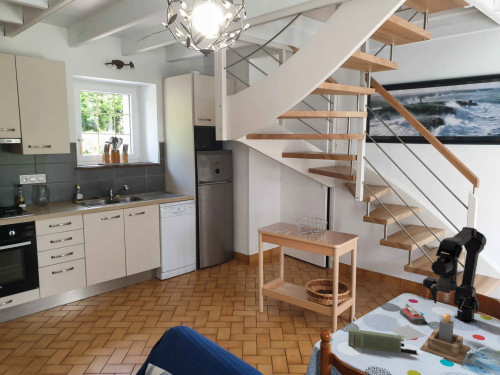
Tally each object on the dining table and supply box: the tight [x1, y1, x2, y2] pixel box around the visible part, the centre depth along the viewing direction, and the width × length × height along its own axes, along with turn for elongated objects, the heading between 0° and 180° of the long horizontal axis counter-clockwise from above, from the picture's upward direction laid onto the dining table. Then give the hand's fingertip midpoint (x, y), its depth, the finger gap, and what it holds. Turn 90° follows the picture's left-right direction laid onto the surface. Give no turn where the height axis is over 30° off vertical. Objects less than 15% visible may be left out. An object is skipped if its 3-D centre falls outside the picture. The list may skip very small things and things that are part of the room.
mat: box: [389, 324, 427, 341], centre depth 160 cm, size 10×10×1 cm
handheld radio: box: [347, 328, 418, 355], centre depth 147 cm, size 7×3×25 cm
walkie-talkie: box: [399, 303, 428, 325], centre depth 177 cm, size 9×4×20 cm
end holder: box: [419, 328, 470, 365], centre depth 147 cm, size 14×14×5 cm
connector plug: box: [438, 313, 455, 344], centre depth 147 cm, size 4×4×13 cm
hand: (447, 306), depth 159 cm, fingers open, 9 cm apart
